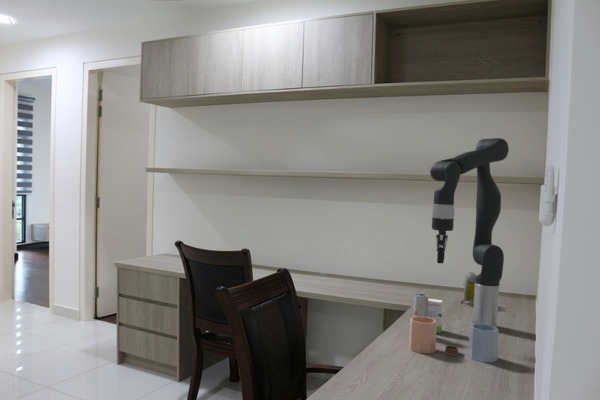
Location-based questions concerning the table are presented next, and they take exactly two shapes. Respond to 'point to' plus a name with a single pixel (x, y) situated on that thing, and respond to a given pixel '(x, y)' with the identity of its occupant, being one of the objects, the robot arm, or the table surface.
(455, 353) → the brown square tube
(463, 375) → the table surface
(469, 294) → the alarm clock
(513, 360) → the table surface
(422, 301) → the beverage can
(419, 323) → the tube terracotta
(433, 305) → the ink box
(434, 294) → the table surface
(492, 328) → the tube slate
